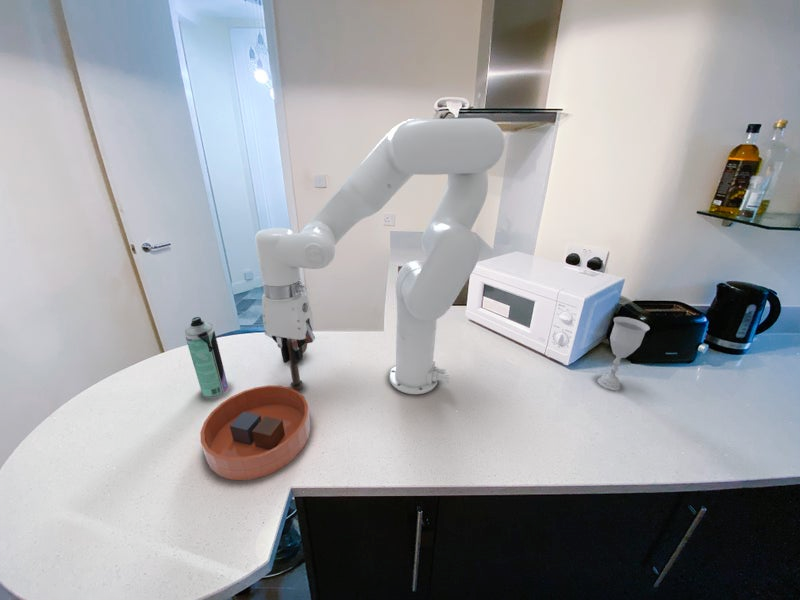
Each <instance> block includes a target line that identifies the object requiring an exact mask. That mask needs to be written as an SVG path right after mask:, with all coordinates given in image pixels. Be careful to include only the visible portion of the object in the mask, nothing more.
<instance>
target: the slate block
mask: <svg viewBox="0 0 800 600" xmlns="http://www.w3.org/2000/svg"><path fill="white" fill-rule="evenodd" d="M260 421H261V416H260V415H257V414H253V413H249V412H244V411H243V412H242V413H241V414H240V415H239V416H238V418H237V419H236V420H235V421H234V422H233V423H232V424H231V425H230V430H231V433H232V437H233V441H237V442H241V443H245V444H249V445H251V444H252V443H253V442H254V438H253V434H252V431H253V429H254V428H255V427H256V426H257V425H258V424H259V422H260Z"/></svg>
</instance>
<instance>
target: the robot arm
mask: <svg viewBox="0 0 800 600" xmlns="http://www.w3.org/2000/svg"><path fill="white" fill-rule="evenodd" d="M504 150H505V136H504V133H503V131H502V129H501V127H500V126H499V125H498V124H497V123H496V122H494V121H493V120H491V119H489V118H485V117H467V118H466V117H465V118H463V117H461V118H460V117H459V118H411V119H407V120H405V121H402V122H400V123H399V124H397V125H395V126H394V127H393V128H391V129H390V130H389V131H388V133H386V135H385V136H384V137H383V138H382V139H381V140H380V141H379V143H377V145H376V146H375V147H374V148H373V149H372V150H371V151H370V152H369V154H368V155H367V156H366V157H365V158H364V159H363V160H362V162H361V163H360V164H358V166H357V167H356V168H355V169H354V170H353V172H351V174H349V176H348V177H347V178H346V179H345V180H344V181H343V183H342V184H341V185H340V186H339V188H338V189H337V190H336V192H335V193H334V194H333V195H332V196H331V197H330V199H329V200H328V201H327V202H326V203H325V204H324V205H323V206H322V207H321V208H320V209H319V211H317V213H315V215H314V216H313V217H312V218H311V219H310V220H309V221H308V223H307V224H306V225H305V226H304V227H303V229H302V230H301V232H299V233H294V231H293V230H291V229H289V228H285V227H270V228H263V229H261V230H258V232H256V234H255V237H254V242H255V248H256V255H257V261H258V265H259V271H260V272H259V273H260V277H261V282H262V289H263V293H262V298H261V300H262V301H261V314H262V322H263V327H264V335H265V336H267V337H269V338H271V339H272V340H273V341H274V342H275V343H276V345H277V348H278V349H280V352H281V357H282V362H283V364H287V363H289V356H288V349H287V343H286V341H287V340H288V339H289V338H291V339H292V344H293V350H292V351H291V353H292V360H293V364H294V365H297V364H298V365H299V363H300V362H301V361H302V360H303V358H304V353H303V350H302V346H303V345H304V344H307V345H308V344H311V343H313V342H314V341H315V340H316V336H315V334H314V333H313V331H314V330H315V323H314V318H313V312H312V307H311V304H310V301H309V298H308V296H307V294H306V292H307V285H304V284H302V280H301V273H300V269H308V270H320V269H324V268H326V267H328V266H329V265H330V264H331V263H332V262H333V260H334V257H335V251H336V246H337V244H338V243H339V242H340V241H341V240H342V238H343V237H344V236H345V235H346V234H347V233H348V232H349V231H350V230H351V229H352V228H353V227H354V226H355V225H356V224H358V223H359V222H361V221H362V220H363V219H366V218H368V217H372V216H373V215H375V214H377V213H378V212H379V211H381V209H383V208H384V207H385V205H386V204H388V202H389V201H390V200H391V199H392V197H394V196H395V195H396V193H398V191H400V189H401V188H403V186H404V185H405V184H406V183H408V181H409V180H410V179H411V178H412V177H413V176H414V175H418V176H419V175H424V176H425V175H428V176H430V175H431V176H433V175H434V176H436V175H440V176H441V175H447V183H446V187H445V191H444V192H443V194H442V197H441V199H440V201H439V204H438V205H437V207H436V209H435V211H434V212H433V215H432V216H431V218H430V220H429V222H428V224H427V226H426V227H425V229H424V231H423V233H422V234H421V239H420V246H421V249H422V251H423V253H424V254H425V256H426V257H427V258H426V259H425V261H424V260H420V259H414V260H410V261H408V262H406V263H404V265H403V266H402V267H400V269H399V271H398V273H397V275H396V280H395V293H396V297H395V298H396V335H395V336H396V338H395V339H396V340H395V365H394V366H393V367H392V368H391V370H390V371H389V382H390V384H391V385H392V387H393V388H394V389H396V390H397V391H399V392H401V393H405V394H408V395H421V394H426V393H429V392H430V391H432V390H433V389H435V387H436V386H437V384H438V381H439V382H443V383H450V378H451V375H450V374H446V373H447V369H445V368H438V367H437V366H436V361H435V360H434V356H435V346H436V345H435V344H436V333H437V325H438V319H439V320H440V319H441V318H442V317H443V316H445V314H447V313H448V311H449V310H450V309H451V307H452V306H453V304H455V301H456V300H457V298H458V296H459V295H460V293H461V291H463V288H464V286H465V285H466V283H467V282H468V281H469V278H470V277H471V275H472V273H473V271H474V270H475V268H476V265H477V263H478V261H479V256H480V242H479V240H478V237H477V235H476V234H475V233H474V232H473V231H472V229H473V228H474V225H475V223H476V221H477V219H478V217H479V216H480V214H481V211H482V209H483V207H484V205H485V202H486V199H487V196H488V190H489V178H488V177H489V176H488V171H489V170H491V169H492V168H493V167H494V166H496V164H498V162H499V161H500V160H501V158H502V155H503V153H504Z"/></svg>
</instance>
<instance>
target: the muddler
mask: <svg viewBox="0 0 800 600" xmlns="http://www.w3.org/2000/svg"><path fill="white" fill-rule="evenodd" d="M286 343H287V349H288V356H289V361H288V363H289V369H290V375H291V382H290V388H292V389H294V390H296V391H298V392H300V391H302V390H303V389H304V382H303V380H302V379H301V376H300V371H299V370H300V369H299V363H298V364H297V365H294V364H293V360H292V353H291V351H292V350H293V344H292V339H288V340H287V341H286Z"/></svg>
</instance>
